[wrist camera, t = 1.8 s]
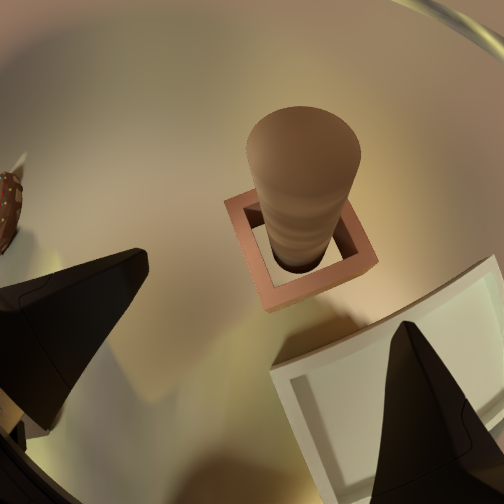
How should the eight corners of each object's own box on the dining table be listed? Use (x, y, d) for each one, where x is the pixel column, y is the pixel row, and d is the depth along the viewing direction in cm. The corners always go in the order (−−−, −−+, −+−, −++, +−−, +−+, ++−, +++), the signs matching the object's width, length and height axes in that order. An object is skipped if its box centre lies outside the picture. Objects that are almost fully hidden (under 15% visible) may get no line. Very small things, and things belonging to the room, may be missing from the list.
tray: (327, 502, 15) (330, 518, 12) (271, 365, 19) (268, 371, 16) (511, 391, 14) (526, 394, 12) (478, 261, 18) (493, 254, 16)
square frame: (269, 313, 20) (264, 310, 16) (235, 222, 22) (223, 201, 18) (363, 274, 20) (378, 261, 16) (322, 189, 22) (327, 162, 18)
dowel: (283, 281, 20) (272, 214, 8) (264, 234, 22) (231, 125, 10) (333, 261, 20) (381, 174, 8) (311, 215, 21) (326, 96, 9)
